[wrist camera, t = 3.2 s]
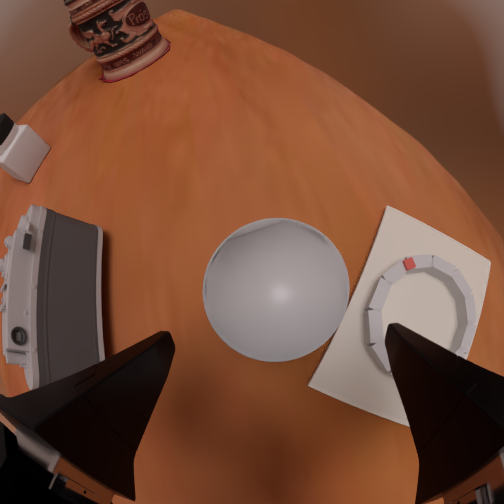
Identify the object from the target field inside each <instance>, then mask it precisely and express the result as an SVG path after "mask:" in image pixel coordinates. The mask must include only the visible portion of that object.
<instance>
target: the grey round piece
mask: <svg viewBox="0 0 504 504" xmlns="http://www.w3.org/2000/svg"><path fill="white" fill-rule="evenodd" d="M348 300H349V278H348V272H347V269H346V266H345V262H344V260H343V258H342V256H341V254H340V253H339V251H338V250H337V248H336V246H335V245H334V244H333V243H332V242H331V241H330V239H328V238H327V237H326V236H325V235H324V234H323V233H321V232H320V231H319V230H317V229H316V228H314V227H312V226H310V225H308V224H306V223H303V222H300V221H297V220H292V219H286V218H269V219H262V220H259V221H255V222H252V223H250V224H247V225H245V226H243V227H241V228H239V229H238V230H236V231H235V232H233V233H232V234H230V235H229V236H228V237H227V238H226V239H225V240H224V241H223V242H222V243H221V244H220V245H219V247H218V248H217V249H216V251H215V252H214V254H213V255H212V257H211V259H210V261H209V263H208V266H207V269H206V272H205V276H204V281H203V301H204V307H205V311H206V314H207V317H208V319H209V321H210V323H211V325H212V327H213V328H214V330H215V331H216V333H217V334H218V335H219V337H220V338H221V339H222V340H223V341H224V342H225V343H226V344H227V345H229V346H230V347H231V348H233V349H234V350H236V351H237V352H239V353H241V354H243V355H245V356H247V357H250V358H253V359H256V360H261V361H267V362H281V361H289V360H293V359H297V358H300V357H302V356H305V355H307V354H309V353H311V352H313V351H314V350H316V349H317V348H319V347H320V346H321V345H323V344H324V343H325V342H326V341H327V340H328V339H329V338H330V337H331V336H332V335H333V333H334V332H335V331H336V329H337V328H338V326H339V325H340V323H341V321H342V319H343V317H344V314H345V312H346V309H347V304H348Z"/></svg>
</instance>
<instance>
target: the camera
mask: <svg viewBox="0 0 504 504" xmlns="http://www.w3.org/2000/svg"><path fill="white" fill-rule="evenodd" d="M4 244H5V245H6V247H7V248H8V255H5V257H4V259H2V258H1V259H0V272H2V278H4V279H5V280H4V284H3V286H2V288H1V293H2V291H3V290H4V292H3V298H2V300H1V302H3V303H2V304H1V306H0V312H2V338H3V355H4V356H6V363H7V364H18V365H20V367H24V370H25V377H26V381H27V384H28V387H29V389H30V390H33V389H36V388H39V387H41V386H44V385H47V384H49V383H52V382H54V381H57V380H60V379H62V378H65V377H67V376H70V375H72V374H75V373H77V372H79V371H82V370H84V369H86V368H88V367H90V366H92V365H94V364H96V363H97V364H98V363H99V362H101V361H103V360H105V355H104V344H103V330H102V308H101V262H102V245H103V231H102V228H101V227H100V226H97V225H93V224H88V223H85V222H82V221H80V220H77V219H74V218H71V217H68V216H65V215H62V214H59V213H56V212H54V211H53V210H50V209H47V208H45V207H43V206H39V207H38V206H35V205H31V206H30V207H29V209H28V212H27V214H26V215H22V216H21V218H20V221H19V223H18V228H17V230H15V232H14V235H13V237H12V236H8V237H7V238H6V237H5V241H4Z"/></svg>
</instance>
